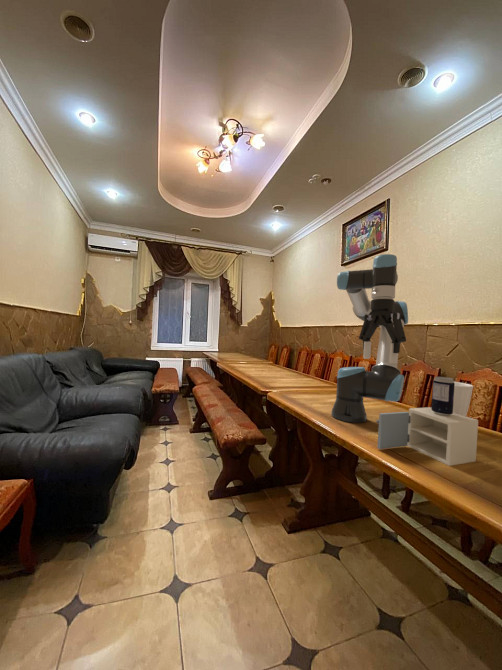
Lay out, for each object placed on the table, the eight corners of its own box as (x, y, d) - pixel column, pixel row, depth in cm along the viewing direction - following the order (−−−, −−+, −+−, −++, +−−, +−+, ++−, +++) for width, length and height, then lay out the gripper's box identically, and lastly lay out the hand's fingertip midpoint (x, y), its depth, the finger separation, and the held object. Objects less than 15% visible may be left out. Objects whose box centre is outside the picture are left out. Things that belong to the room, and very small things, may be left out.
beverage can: (456, 417, 82) (458, 380, 81) (436, 415, 83) (438, 378, 83) (446, 412, 87) (448, 377, 87) (428, 410, 88) (430, 375, 88)
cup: (475, 443, 95) (479, 385, 95) (462, 449, 89) (466, 387, 89) (440, 432, 105) (443, 379, 105) (426, 437, 99) (429, 381, 99)
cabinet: (406, 445, 90) (409, 408, 90) (431, 442, 94) (433, 407, 94) (449, 465, 77) (451, 422, 76) (475, 461, 80) (478, 420, 80)
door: (374, 446, 86) (376, 412, 86) (403, 442, 91) (405, 410, 91) (380, 449, 84) (382, 414, 84) (409, 445, 89) (411, 412, 88)
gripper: (351, 301, 101) (347, 356, 101) (404, 294, 79) (400, 365, 79) (366, 303, 104) (363, 357, 104) (421, 296, 82) (417, 365, 82)
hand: (379, 360), depth 92 cm, fingers open, 11 cm apart
